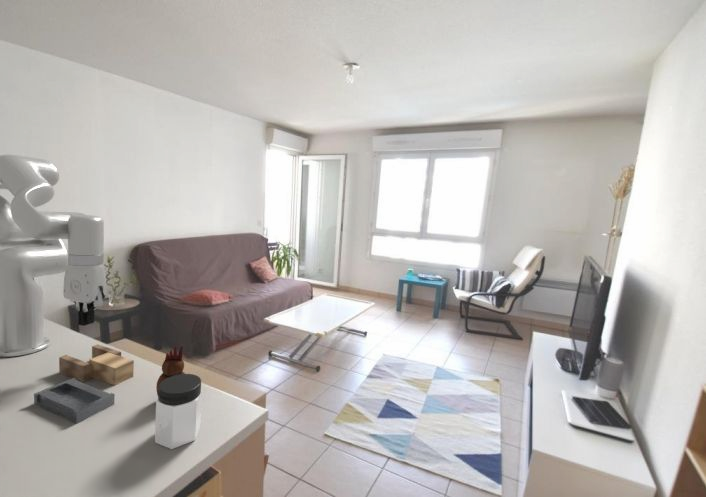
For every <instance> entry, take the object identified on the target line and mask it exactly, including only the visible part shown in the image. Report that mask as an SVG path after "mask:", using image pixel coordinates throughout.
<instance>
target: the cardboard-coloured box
mask: <svg viewBox="0 0 706 497" xmlns="http://www.w3.org/2000/svg"><path fill="white" fill-rule="evenodd" d="M88 361H89V362H88V363H90V378H94V379H96V380H99V381H103V382H105V383H107V384H110V385H113V386H117V385H119V384H121V383H123V382H126V381H128V380H129V379H132V378H133V377H134V366H135V365H134V364H135V363H134V362H135V360H133V359H130V358H128V357H124V356H122V355H121V356H118V355H115V354H112V353H109V352H108V353H105V354H103V355H100V356H97V357H94V358H92V357H91V358H90V359H89V360H88Z"/></svg>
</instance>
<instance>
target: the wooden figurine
mask: <svg viewBox="0 0 706 497" xmlns="http://www.w3.org/2000/svg"><path fill="white" fill-rule="evenodd" d="M183 351H184V344H183V343H182V344H181V346H180V348H179V351H178V350H177V346H174V349H173V350H170V351H169V353H166V355H165V359H164V361H163V362H162V365H161V370H162V373H161V374H160V375H159V377H158V379H157V382H156V386H155V387H156V388H155V389H156V393H157V396H158V388H159V385H160V383H161V382H162V381H164V380H165V379H167V378H169V377H171V376H175V375H179V374H186V373H185V371H184V368H185V362H184V359H183Z"/></svg>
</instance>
